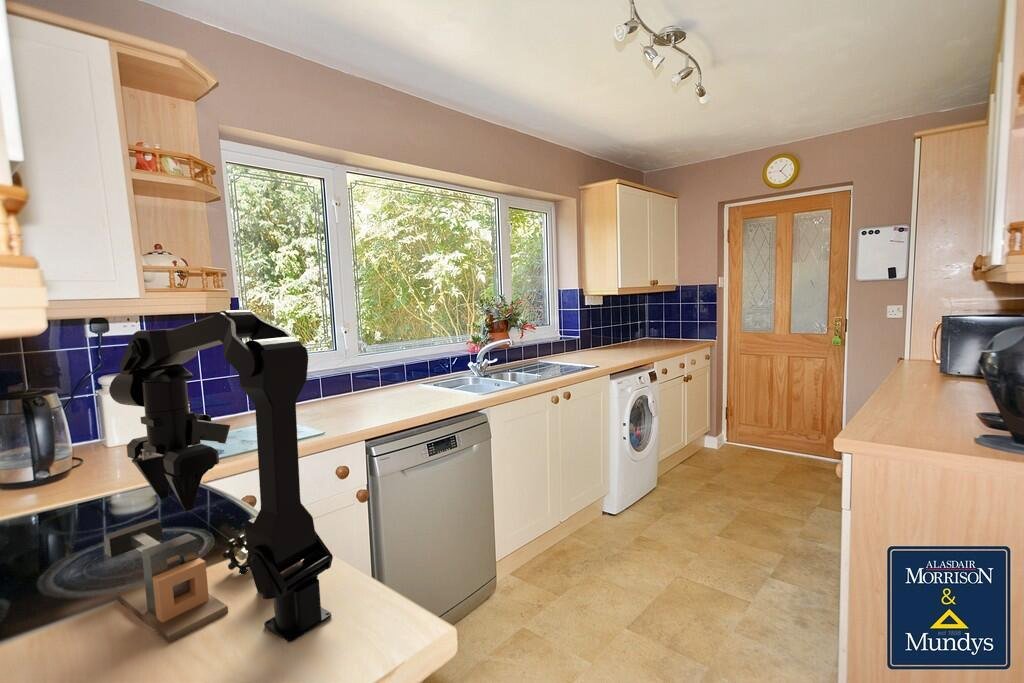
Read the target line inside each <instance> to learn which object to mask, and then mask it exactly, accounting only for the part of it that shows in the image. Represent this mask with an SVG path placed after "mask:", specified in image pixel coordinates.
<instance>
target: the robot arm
mask: <svg viewBox="0 0 1024 683" xmlns="http://www.w3.org/2000/svg"><path fill="white" fill-rule="evenodd" d="M248 338H249V339H250V340H247V341H246V342H243V341H242V340H241V339H248ZM219 345H222V348H223V358H224V359H225V360H226V361H227V362H228V363H229V364H230V365H231V366H232V368H234V369H235V370H236V371H237V373H238V377H239V378H238V379H239V384H240V387H241V389H242V391H243V392H244V393H245V395H247V397H248V398H249V399H250V400H251V402H252V403H253V404H254V409H255V410H254V411H255V424H256V425H255V426H256V442H257V443H256V445H257V446H256V448H257V460H258V461H257V462H258V476H259V479H258V480H259V496H260V497H259V498H260V500H259V501H260V510H259V512H258V513H257V515H256V516H254V517H252V518H250V519H248V520H246V522H245V524H244V532H245V534H244V535H245V536H246V538H245V539H246V540H245V542H246V547H245V550H246V551H247V550H248V563H249V566H250V569H249V570H250V572H251V576H252V578H253V582H254V586H255V588H256V591H257V593H258V592H259V593H261V594H263V596H262V599H263V600H265V601H266V600H272V599H273V610H274V616H273V617H272V618H269V619H268V620H266V621H265V622H264V623H263V624H264V628H265V629H267V630H269V631H270V632H272V633H274V634H275V635H276V636H278V637H280V638H281V639H283V640H284V641H285V642H287V643H291V642H294V641H296V640H297V639H299V638H301V637H302V636H304V635H305V634H307V633H308V632H311V630H313V629H315V628H317V627H318V626H320V625H321V624H322V623H324V622H326V621H328V620H329V619H331V618H332V612H331V611H329V610H328V609H325V608H324V607H322V606H321V605H322V604H321V603H322V602H321V590H320V579H319V577H318V576H319V575H320V574H322V573H323V572H325V571H326V570H328V569H329V570H330V568H331V567H332V562H333V558H334V556H333V554H332V553H331V551H330V550H329V549H328V547H327V546H326V544H325V543H324V541H323V540H322V539H321V537H320V536H319V535H318V532H316V528H315V522H314V517H313V515H312V514H311V513H310V511H308V510H307V508H306V507H305V506H304V505H303V503H302V500H301V488H300V464H299V445H298V444H299V443H298V423H297V421H298V420H297V419H298V418H297V400H298V398H299V396H300V395H301V393H302V391H303V388H304V387H305V385H306V383H307V379H308V378H307V377H308V367H309V353H308V350H307V348H306V346H305V345H303V344H302V343H301V341H300V340H299V339H297V338H296V337H295V336H293V335H291V334H290V333H289V332H288V331H287V330H285V329H283V328H281V327H280V326H277V325H275V324H272V323H271V322H268V321H266V320H265V319H263V318H262V317H261V316H260V315H258V314H257V313H256V312H254V311H252V310H249V309H244V310H243V309H242V310H241V309H237V310H236V309H235V310H233V309H232V310H220V311H219V312H216V313H215V314H213V315H211V316H208V317H205V318H202V319H199V320H196V321H194V322H193V321H192V322H191V323H186V324H184V325H181V326H177V327H175V328H162V329H147V330H145V329H144V330H137V331H135V332H134V333H133V335H132V336H131V339H129V341H128V344H127V346H126V349H125V352H124V355H123V357H122V359H121V361H120V363H119V364H118V366H119V373H118V374H117V375H115V377H114V378H113V379H112V381H111V382H110V385H109V387H108V389H109V390H108V391H109V394H110V395H109V396H110V397H111V399H113V401H114V402H116V403H118V404H121V405H125V406H133V407H143V408H144V415H143V416H140V423H141V424H142V425H144V426H145V425H146V426H145V429H146V436H141V437H136V438H133V439H131V440H130V441H129V443H128V444H127V445H126V453H127V458H130V459H131V462H132V464H133V465H134V466H135V467H136V468H137V469H138V471H139V472H140V474H141V475H142V476H143V478H144V479H145V480H146V482H147V483H148V484H149V486H150V487H151V489H152V490H153V491H154V493H155V494H156V496H157V498H158V499H159V500H161V501H162V500H165V499H167V498H169V493H170V492H169V491H170V487H171V489H172V490H173V492H174V494H175V496H176V498H177V500H178V502H179V503H180V505H181V507H182V509H183V510H184V511H185V512H189V511H191V510H193V509H194V508H195V503H196V500H197V496H198V492H199V488H200V486H201V485H200V484H201V481H202V478H203V476H204V475H205V474H206V473H207V472H208V471H209V470H212V469H213V468H215V466H216V465H218V464H220V458H219V456H220V455H219V450H217V449H215V448H214V447H212V446H210V445H206V444H203V443H201V441H205V442H206V441H208V442H217V443H219V444H227V443H226V442H227V439H228V435H229V431H230V428H231V424H228V423H224V422H217V421H213V420H212V418H211V417H212V416H211V415H208V414H202V413H195V412H194V411H190V407H189V405H190V404H189V395H188V385H187V381H189V380H193V379H194V375H193V374H192V372H190V371H189V370H187V369H186V368H185V367H184V366H183V364H185V363H187V362H189V361H191V360H192V359H193V358H195V357H196V356H197V354H198V353H197V352H199V351H202V350H206V349H208V348H213V347H216V346H219ZM299 561H301V562H299ZM297 562H299V563H298V564H296V563H297ZM294 564H296V565H294ZM292 565H294V566H293V567H291V566H292ZM289 567H291V568H289ZM287 568H289V569H288V570H286V569H287ZM284 570H286V571H284ZM282 571H284V572H283V573H281V572H282ZM280 573H281V574H280Z"/></svg>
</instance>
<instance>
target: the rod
mask: <svg viewBox="0 0 1024 683" xmlns="http://www.w3.org/2000/svg"><path fill="white" fill-rule="evenodd" d="M162 526H163V523H162V520H159V519H157V518H152V519H149V520H146V521H143V522H140V523H136V524H135V525H132V526H128V527H125V528H122V529H118V530H116V531H112V532H109V533H107V534H104V535H103V540H104V547H105V548H104V549H105V554H106V555H107V556H108V557H110V558H114V557H117V556H119V555H122V554H126V553H128V552H131V551H133V550H137V551H139V552H140V553H142V550H144V549H147V548H150V547H152V546H155V545H158V544H160V543H161V542H160V541H161V540H164V537H163V534H164V533H163V527H162ZM179 564H180V562H179V555H177V556H174V557H172V558H169V559H167V569H169V568H172V567H174V566H177V565H179Z"/></svg>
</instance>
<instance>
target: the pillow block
mask: <svg viewBox="0 0 1024 683" xmlns="http://www.w3.org/2000/svg"><path fill="white" fill-rule="evenodd" d="M177 555H179V562H180V564H179V565H177V566H174V567H172V568H169V569H167V559H169V558H172V557H174V556H177ZM199 555H200V554H199V544H198V537H196V536H194V535H192V534H190V533H185V534H183V535H180V536H177V537H174V538H171V539H168V540H167V541H163V542H160V544H158V545H155V546H152V547H150V548H147V549H144V550H142V552H141V557H142V568H143V579H144V583H145V590H146V600H147V610H148V611H149V612H150V613H151V614H153V615H154V616H155V617H156V608H155V598H154V587H153V577H154V576H156V575H158V574H161V573H163V572H166V571H168V570H171V569H173V568H175V567H178V566H180V565H183V564H185V563H188V562H190V561H192V560H195V559H197V558H200V556H199ZM189 591H190V586H189V580H187V581H184V582H182V583H180V584H177V585H175V586H173V595H174V598H176V597H178V596H180V595H183V594H185V593H187V592H189Z"/></svg>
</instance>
